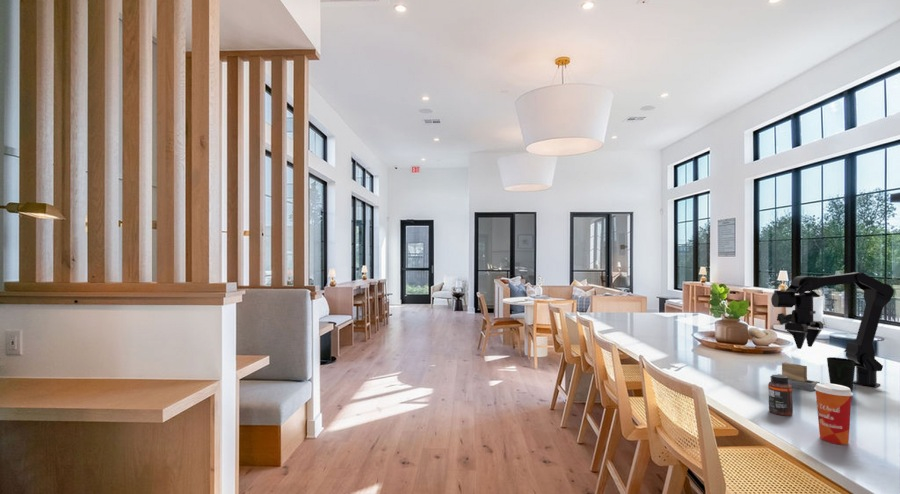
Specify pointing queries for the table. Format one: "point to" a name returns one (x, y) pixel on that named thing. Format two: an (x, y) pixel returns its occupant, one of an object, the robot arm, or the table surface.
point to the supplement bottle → (780, 396)
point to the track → (802, 384)
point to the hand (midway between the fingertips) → (804, 347)
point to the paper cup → (833, 412)
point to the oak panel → (794, 371)
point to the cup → (841, 371)
